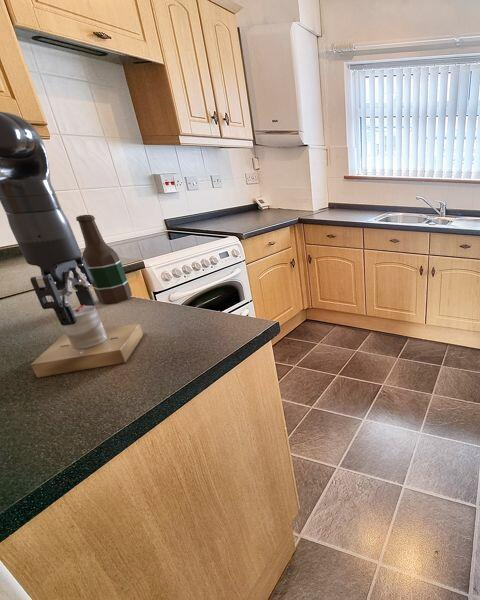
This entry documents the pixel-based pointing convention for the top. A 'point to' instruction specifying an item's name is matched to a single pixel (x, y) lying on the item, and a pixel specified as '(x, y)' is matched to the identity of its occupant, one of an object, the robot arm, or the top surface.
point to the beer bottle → (103, 264)
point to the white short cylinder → (85, 328)
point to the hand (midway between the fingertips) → (80, 314)
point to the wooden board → (88, 352)
